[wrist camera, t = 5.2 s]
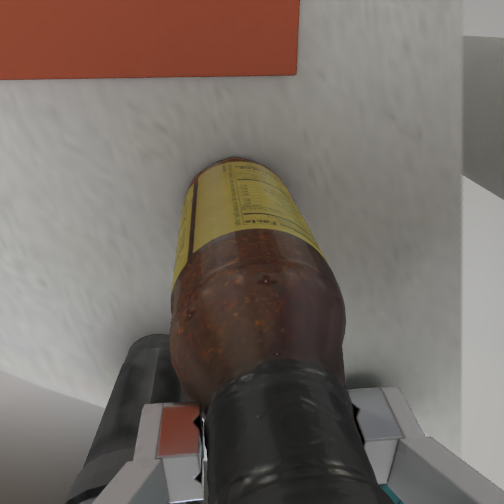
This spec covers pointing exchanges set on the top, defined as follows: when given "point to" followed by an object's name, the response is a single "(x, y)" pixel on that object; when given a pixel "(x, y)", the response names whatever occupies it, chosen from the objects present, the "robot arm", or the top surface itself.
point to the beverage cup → (128, 415)
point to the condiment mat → (147, 38)
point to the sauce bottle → (264, 346)
